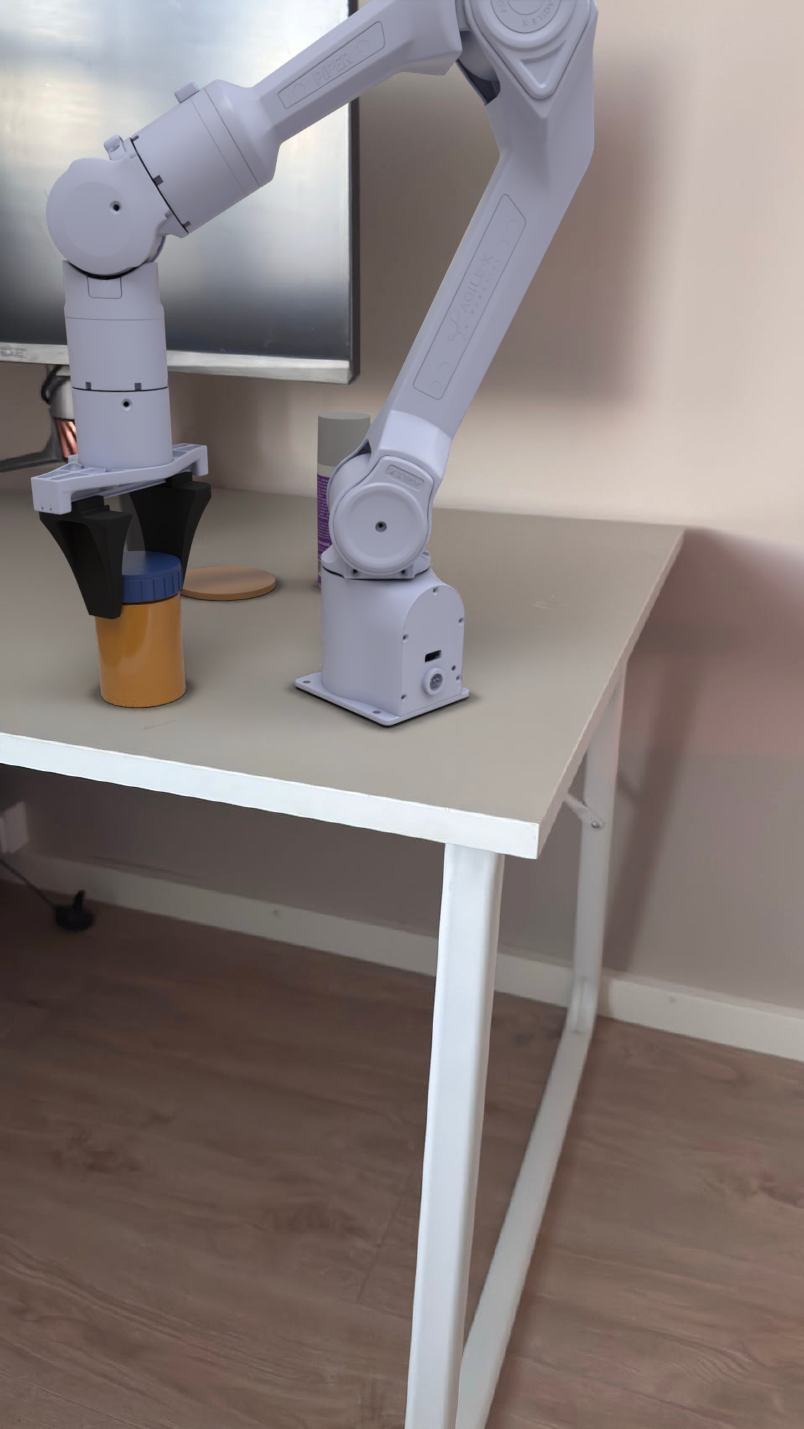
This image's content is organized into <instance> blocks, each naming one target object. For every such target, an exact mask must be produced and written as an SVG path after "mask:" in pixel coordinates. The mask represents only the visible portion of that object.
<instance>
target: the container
mask: <svg viewBox="0 0 804 1429" xmlns="http://www.w3.org/2000/svg"><path fill="white" fill-rule="evenodd" d="M370 425H371V415H370V414H368V413H364V412H357V411H356V412H355V411H329V412H322V413H321V412H320V413H319V414H317V450H316V451H317V456H316V458H317V460H316V506H317V507H316V509H317V510H316V511H317V512H316V513H317V514H316V516H317V517H316V518H317V522H316V523H317V587H318V589H320V590H321V554H322V553H323V552H324V551H326V550H327V549H328V548H329V547H330V546H331V545H332V541H331V538H330V534H329V516H330V513H329V510H328V506H327V498H326V493H327V486H328V482H329V479H330V477H331V474H332V472H333V471H334V469H335V468H336V466H337V465H338V464H339V463H340V462H341V461H342V460H344V459H345V458H346V457H348V456H349V455H350V454H352V453H353V452H354V451H355V450H356V449H357V448H358V447H359V446H360V444H361V443H362V441H363V439H364V438H365V435H366V433H367V431H368V429H369V427H370Z"/></svg>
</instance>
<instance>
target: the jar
mask: <svg viewBox="0 0 804 1429" xmlns="http://www.w3.org/2000/svg"><path fill="white" fill-rule="evenodd" d="M181 599H182V598H181V594H180V592H178V593H177V594H175V595H173V596H170V597H168V598H164V599H160V600H155V601H148V602H134V603H125V602H122V610H121V615H120V617H118V618H116V619H107V618H102V617H97V616H93V623H94V624H93V625H94V633H95V644H96V655H97V666H98V674H99V675H98V677H99V686H100V695H101V697H102V699H103V700H104V701H105V702H107V703H109V704H112V705H114V706H118V707H126V708H149V707H156V706H157V707H158V706H162V705H166V704H169V703H172V702H174V701H176V700H178V699H180V698H181V697H183V695H184V694H185V693H186V690H187V684H186V669H185V666H186V665H185V651H184V635H183V619H182V618H183V617H182V616H183V615H182V602H181V601H182V600H181Z"/></svg>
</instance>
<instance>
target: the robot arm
mask: <svg viewBox="0 0 804 1429" xmlns="http://www.w3.org/2000/svg"><path fill="white" fill-rule="evenodd" d="M598 18H599V7H598V5H597V2H596V0H370V1H369V2H368V3H366V4H365V5H364V6H362V7H361V8H359V9H358V10H357V11H355V12H354V13H353V14H351V15H350V16H348V17H347V18H346V19H344V20H343V21H341V22H340V23H338V24H337V25H335V27H333V28H332V29H330V30H329V31H327V33H325V34H323V35H322V36H321V37H319V38H318V39H316V40H315V41H314V42H312V43H311V44H310V45H308V46H307V47H305V48H304V49H303V50H301V51H300V52H298V53H297V54H296V55H295V56H293V57H292V58H290V59H288V60H287V61H286V62H285V63H283V64H282V65H280V66H279V67H278V68H276V69H275V70H273V71H272V72H271V73H270V74H268V75H266V77H264V78H263V79H261V80H260V81H259V82H257V83H256V84H254V85H253V86H250V87H249V86H248V87H245V86H241V85H238V84H235V83H233V82H230V81H227V80H224V79H218V78H217V79H214V80H212V81H211V82H209V83H208V84H206V85H205V86H203V87H202V88H199V87H198V86H199V85H198V84H197V83H196V82H195V80H193V79H190V80H188V81H187V82H186V83H184V84H183V85H181V86H180V87H178V88H177V89H175V90H174V96H175V98H176V100H177V102H178V104H176V105H175V106H174V107H172V108H171V109H169V110H168V111H166V112H165V113H163V114H162V115H160V116H159V117H157V118H156V119H155V120H153V121H151V122H150V123H149V124H147V125H145V126H144V127H142V128H141V129H139V130H137V131H136V132H135V133H134V134H132V135H130V136H129V137H127V138H125V139H124V140H123V137H122V136H121V135H119V134H117V133H116V134H114V135H113V136H111V137H109V138H108V139H107V140H105V141H104V142H103V147H104V149H105V151H106V152H107V154H108V158H109V159H108V158H103V157H98V156H97V157H96V156H86V157H81V158H77V159H74V160H73V161H71V163H70V164H69V166H68V168H67V170H65V171H64V172H63V173H62V174H61V175H60V176H59V177H58V178H57V179H56V180H55V182H54V183H53V185H52V186H51V189H50V191H49V194H48V197H47V201H46V206H45V207H46V209H45V214H46V215H45V216H46V217H45V218H46V224H47V229H48V232H49V234H50V237H51V238H50V239H51V240H52V242H53V244H54V246H55V247H56V249H57V250H58V252H60V254H61V255H62V257H64V258H65V259H62V260H61V266H62V284H63V288H64V298H65V303H64V306H63V312H64V320H65V332H66V344H67V354H68V363H69V365H68V366H69V375H70V386H71V395H72V407H73V414H74V416H73V418H74V428H75V437H76V438H75V439H76V448H77V449H76V450H77V453H75V454H71V455H68V456H67V461H68V463H66V464H64V465H62V466H60V467H58V468H55V469H54V470H50V471H49V472H46V473H43V474H40V475H36V476H32V477H30V485H31V492H32V503H33V510H34V512H38V518H39V521H40V522H41V523H42V525H43V526H44V527H45V529H47V531H48V532H49V534H51V536H52V538H53V539H54V541H55V542H56V544H57V546H58V547H59V549H60V550H61V552H62V554H63V555H64V558H65V559H66V561H67V563H68V565H69V568H70V569H71V572H72V573H73V576H74V579H75V581H76V584H77V587H78V589H79V591H80V594H81V597H82V600H83V603H84V605H85V609H86V611H87V613H88V616H92V617H94V616H97V617H102V618H107V619H116V618H118V617H120V615H121V610H122V562H123V552H125V551H124V550H125V545H126V540H127V537H128V532H129V528H130V526H131V522H132V520H133V515H132V513H130V512H125V511H119V510H111V506H110V504H105V499H110V498H113V497H117V496H120V495H124V494H128V495H129V497H130V500H131V502H132V505H133V508H134V510H135V514H136V516H137V519H138V522H139V527H140V530H141V534H142V535H141V536H142V539H143V540H142V541H143V545H144V551H152V552H161V553H166V554H170V555H173V556H176V557H177V558H179V559H180V564H181V568H182V577H183V584H184V580H185V575H186V571H187V568H188V564H189V558H190V554H191V549H192V546H193V541H194V537H195V534H196V531H197V529H198V526H199V524H200V520H201V518H202V516H203V515H204V512H205V510H206V508H207V506H208V504H209V503H210V501H211V499H212V485H211V483H209V482H206V481H197V480H194V478H193V477H202V476H206V475H208V474H209V459H208V446H207V445H204V444H203V445H202V444H194V443H185V442H182V443H177V444H173V439H172V438H173V437H172V421H171V402H170V386H169V372H168V358H167V357H168V354H167V342H166V341H167V340H166V324H165V309H164V305H163V304H162V303H161V294H160V291H161V290H160V275H159V263H158V262H157V259H158V258H159V257H160V255H161V254H162V251H163V249H164V246H165V245H166V240H167V236H170V235H172V236H175V237H177V238H178V239H179V238H180V239H184V238H186V237H187V236H189V235H190V234H192V233H194V232H195V231H196V230H198V229H199V228H202V227H203V226H205V225H206V224H207V223H209V222H210V221H213V219H215V218H216V217H218V216H219V215H221V214H222V213H224V212H226V211H227V210H229V209H230V208H232V207H233V206H235V205H236V204H238V203H239V202H240V201H242V200H244V199H246V198H247V197H249V196H250V195H252V194H253V193H255V192H256V191H259V189H261V188H263V187H265V186H266V185H268V184H269V183H270V182H272V181H273V179H274V177H275V175H276V174H275V173H276V169H277V163H278V157H279V151H280V147H281V146H282V144H284V143H285V142H286V141H288V140H290V139H291V138H293V137H295V136H296V135H298V134H299V133H302V132H303V131H304V130H306V129H308V128H310V127H311V126H313V125H314V124H316V123H318V122H319V121H321V120H323V119H324V118H326V117H328V116H329V115H331V114H333V113H334V112H336V111H338V110H339V109H341V108H343V107H344V106H346V105H347V104H350V103H351V102H353V101H354V100H356V99H357V98H359V97H361V96H362V95H365V93H367V92H369V91H370V90H372V89H374V88H376V87H377V86H378V85H380V84H382V83H384V82H385V81H388V80H389V79H390V78H392V77H393V76H396V75H397V74H400V73H411V74H420V75H429V76H439V77H441V76H442V77H443V76H445V75H446V74H447V73H448V72H449V70H450V69H451V67H452V66H453V65H454V64H455V65H456V66H457V68H458V70H459V72H461V74H462V75H463V77H464V78H465V80H467V82H468V83H469V85H470V86H471V87H472V88H473V90H474V91H475V93H476V94H477V95H478V96H479V98H480V99H481V101H482V102H483V107H484V109H485V112H486V116H487V118H488V122H489V124H490V127H491V130H492V133H493V136H494V139H495V142H496V145H497V147H498V148H497V149H498V150H499V158H498V161H497V163H496V166H495V168H494V170H493V172H492V174H491V177H490V178H489V181H488V182H487V185H486V187H485V188H484V191H483V193H482V196H481V197H480V200H479V202H478V204H477V206H476V208H475V209H474V210H475V211H474V213H473V215H472V217H471V219H470V221H469V223H468V225H467V228H466V229H465V231H464V234H463V235H462V238H461V240H460V243H459V245H458V247H457V249H456V251H455V253H454V255H453V258H452V259H451V261H450V264H449V266H448V268H447V270H446V272H445V274H444V277H443V279H442V281H441V283H440V285H439V288H438V289H437V292H436V293H435V296H434V298H433V300H432V302H431V304H430V307H429V309H428V311H427V312H426V315H425V316H424V317H425V318H424V320H423V322H422V324H421V326H420V328H419V330H418V333H417V334H416V337H415V338H414V341H413V343H412V345H411V347H410V349H409V351H408V353H407V356H406V358H405V360H404V362H403V365H402V366H401V369H400V371H399V373H398V375H397V377H396V380H395V381H394V384H393V386H392V388H391V389H390V392H389V393H388V396H387V398H386V400H385V402H384V404H383V406H382V407H381V408H380V410H379V412H378V413H377V414H376V416H375V417H374V419H373V420H372V421H371V423H370V427H369V429H368V431H367V433H366V435H365V438H364V439H363V441H362V443H361V444H360V446H359V447H358V448H357V449H356V450H355V451H354V452H353V453H352V454H350V455H349V456H348V457H346V458H345V459H344V460H342V461H341V462H340V463H339V464H338V465H337V466H336V468H335V469H334V471H333V472H332V474H331V477H330V479H329V482H328V486H327V493H326V498H327V506H328V510H329V513H330V516H329V534H330V538H331V541H332V545H331V546H330V547H329V548H328V549H327V550H326V551H324V552H323V553H322V554H321V589H320V596H321V598H320V603H321V609H320V611H321V613H320V614H321V617H320V618H321V619H320V621H321V622H320V623H321V670H320V671H316V672H313V673H310V674H307V675H303V676H301V677H297V678H295V680H294V686H295V687H296V688H298V689H301V690H303V691H305V692H308V693H310V694H311V695H315V696H317V697H319V698H321V699H324V700H326V701H328V702H330V703H333V704H334V705H337V706H339V707H342V708H344V709H347V710H349V711H350V712H353V713H354V714H356V715H357V714H358V715H360V716H362V717H364V718H367V719H369V720H371V721H374V722H376V723H378V724H380V725H383V726H394V725H395V724H398V723H401V722H404V721H407V720H409V719H411V718H414V717H417V716H419V715H423V714H425V713H428V712H431V711H433V710H435V709H439V708H441V707H445V706H447V705H449V704H452V703H455V702H457V701H458V702H459V701H460V700H463V699H465V698H468V697H469V696H470V689H469V688H467V687H465V686H463V666H464V647H465V646H464V645H465V628H466V610H465V605H464V602H463V599H462V597H461V595H460V593H459V592H458V591H457V590H456V588H454V587H453V586H451V585H449V584H448V583H445V582H444V581H442V580H441V579H440V578H439V577H438V576H437V575H436V574H435V572H434V570H433V569H432V566H431V564H432V556H431V555H430V551H428V550H427V549H426V548H427V546H428V545H429V543H430V539H431V536H432V529H433V506H434V500H435V498H436V494H437V492H438V490H439V488H440V486H441V484H442V482H443V480H444V476H445V473H446V469H447V464H448V460H449V455H450V451H451V446H452V443H453V441H454V438H455V436H456V434H457V432H458V430H459V428H460V426H461V425H462V422H463V420H464V418H465V416H466V414H467V412H468V410H469V408H470V406H471V404H472V402H473V400H474V398H475V396H476V393H477V391H478V390H479V388H480V385H481V383H482V382H483V380H484V377H485V376H486V373H487V371H488V370H489V367H490V365H491V364H492V362H493V360H494V357H495V355H496V353H497V351H498V349H499V347H500V345H501V343H502V341H503V339H504V337H505V335H506V333H507V331H508V329H509V327H510V325H511V323H512V322H513V319H514V318H515V315H516V313H517V311H518V309H519V307H520V305H521V303H522V301H523V299H524V298H525V295H526V293H527V291H528V288H529V287H530V285H531V283H532V281H533V278H534V277H535V275H536V272H537V271H538V269H539V267H540V265H541V262H542V261H543V259H544V256H545V255H546V252H547V250H548V249H549V246H550V244H551V242H552V240H553V238H554V237H555V234H556V232H557V231H558V228H559V226H560V224H561V222H562V220H563V218H564V216H565V214H566V212H567V210H568V208H569V206H570V204H571V202H572V200H573V198H574V196H575V194H576V192H577V189H578V188H579V186H580V184H581V182H582V180H583V178H584V176H585V174H586V172H587V170H588V168H589V165H590V163H591V160H592V157H593V154H594V151H595V95H594V94H595V91H594V90H595V88H594V87H595V86H594V85H595V84H594V83H595V82H594V45H595V38H596V31H597V25H598ZM182 589H183V587H182ZM182 589H181V591H182ZM181 591H180V592H181Z"/></svg>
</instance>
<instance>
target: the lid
mask: <svg viewBox="0 0 804 1429" xmlns="http://www.w3.org/2000/svg"><path fill="white" fill-rule="evenodd" d="M182 587H183V577H182V568H181V564H180V559H179V558H177V557H176V556H173V555H170V554H166V553H161V552H152V551H145V550H128V551H124V552H123V562H122V602H125V603H134V602H148V601H155V600H160V599H164V598H168V597H170V596H173V595H175V594H177V593H178V592H180V591H181V589H182Z"/></svg>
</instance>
